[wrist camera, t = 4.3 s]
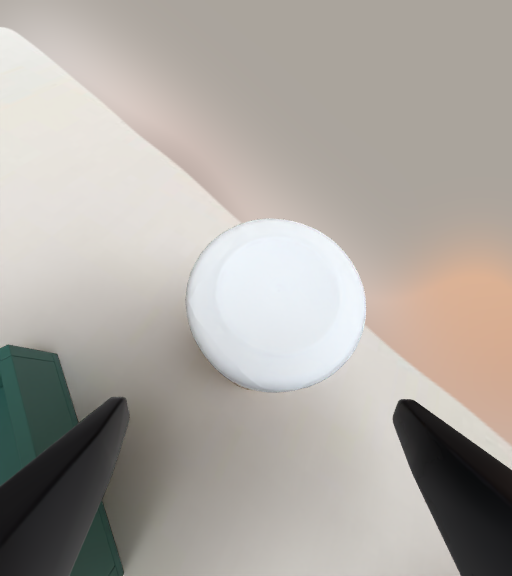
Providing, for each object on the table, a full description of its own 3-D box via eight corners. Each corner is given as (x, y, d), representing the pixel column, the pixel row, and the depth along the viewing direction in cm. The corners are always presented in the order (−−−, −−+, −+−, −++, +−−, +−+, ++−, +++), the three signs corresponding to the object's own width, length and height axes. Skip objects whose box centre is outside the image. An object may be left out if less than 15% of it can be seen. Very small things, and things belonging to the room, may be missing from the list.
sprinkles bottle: (293, 375, 18) (410, 347, 6) (232, 400, 17) (216, 430, 5) (269, 316, 20) (321, 193, 7) (212, 337, 19) (160, 237, 6)
